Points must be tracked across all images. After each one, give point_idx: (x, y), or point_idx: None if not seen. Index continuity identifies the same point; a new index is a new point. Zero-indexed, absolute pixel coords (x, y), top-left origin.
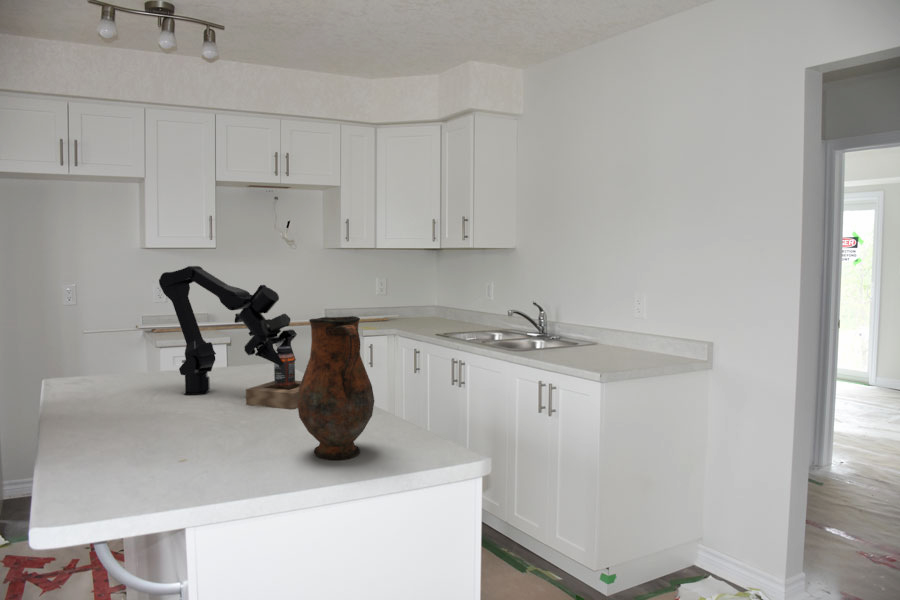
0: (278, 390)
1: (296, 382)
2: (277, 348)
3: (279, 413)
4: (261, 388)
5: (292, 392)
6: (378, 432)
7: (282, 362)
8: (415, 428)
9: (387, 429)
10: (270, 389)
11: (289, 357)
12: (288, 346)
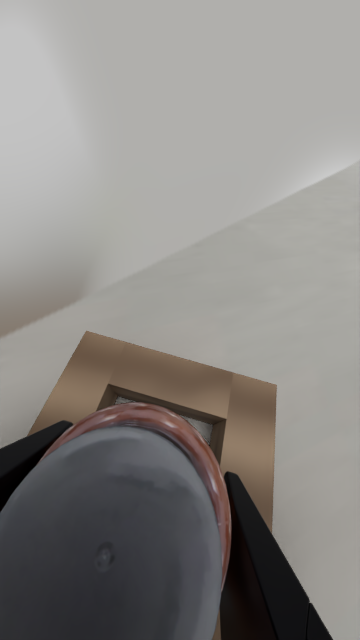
0: (243, 467)
1: None
2: None
3: (309, 418)
4: (219, 610)
5: (262, 389)
6: (343, 220)
7: (231, 476)
8: (303, 191)
9: (323, 213)
10: None
11: (189, 423)
12: (44, 489)
